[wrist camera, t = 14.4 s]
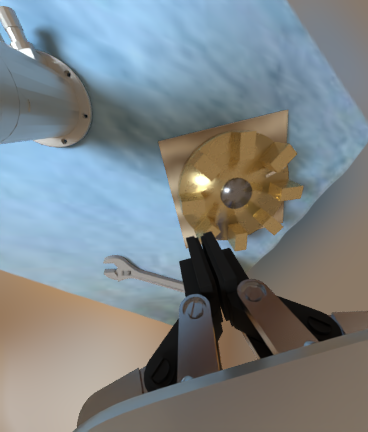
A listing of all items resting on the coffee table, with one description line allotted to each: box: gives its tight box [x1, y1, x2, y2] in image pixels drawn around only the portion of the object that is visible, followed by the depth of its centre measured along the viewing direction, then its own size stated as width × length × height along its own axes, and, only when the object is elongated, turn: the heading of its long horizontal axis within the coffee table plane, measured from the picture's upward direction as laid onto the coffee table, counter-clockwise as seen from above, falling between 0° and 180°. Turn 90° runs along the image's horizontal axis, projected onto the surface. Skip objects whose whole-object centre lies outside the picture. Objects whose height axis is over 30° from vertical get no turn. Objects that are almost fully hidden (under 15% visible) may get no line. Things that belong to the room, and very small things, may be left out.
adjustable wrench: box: [103, 255, 185, 293], centre depth 47 cm, size 25×6×2 cm, turn 56°
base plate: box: [158, 110, 288, 248], centre depth 39 cm, size 24×24×2 cm
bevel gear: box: [178, 130, 303, 251], centre depth 35 cm, size 22×22×6 cm
